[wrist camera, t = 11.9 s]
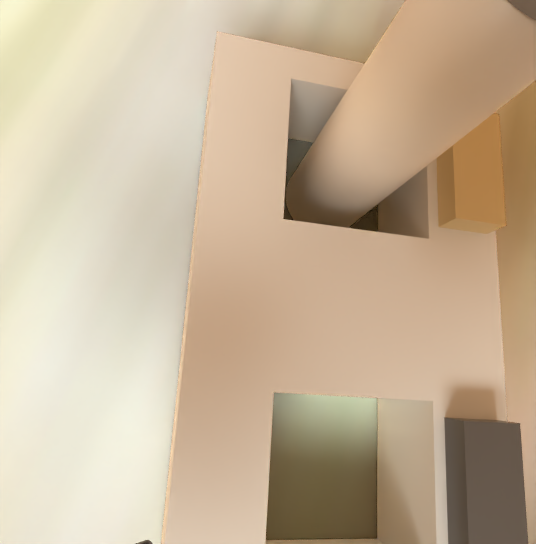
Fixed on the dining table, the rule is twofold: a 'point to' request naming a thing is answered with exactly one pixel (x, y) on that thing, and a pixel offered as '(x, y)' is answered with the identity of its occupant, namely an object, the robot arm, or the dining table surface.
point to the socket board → (340, 320)
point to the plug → (414, 102)
